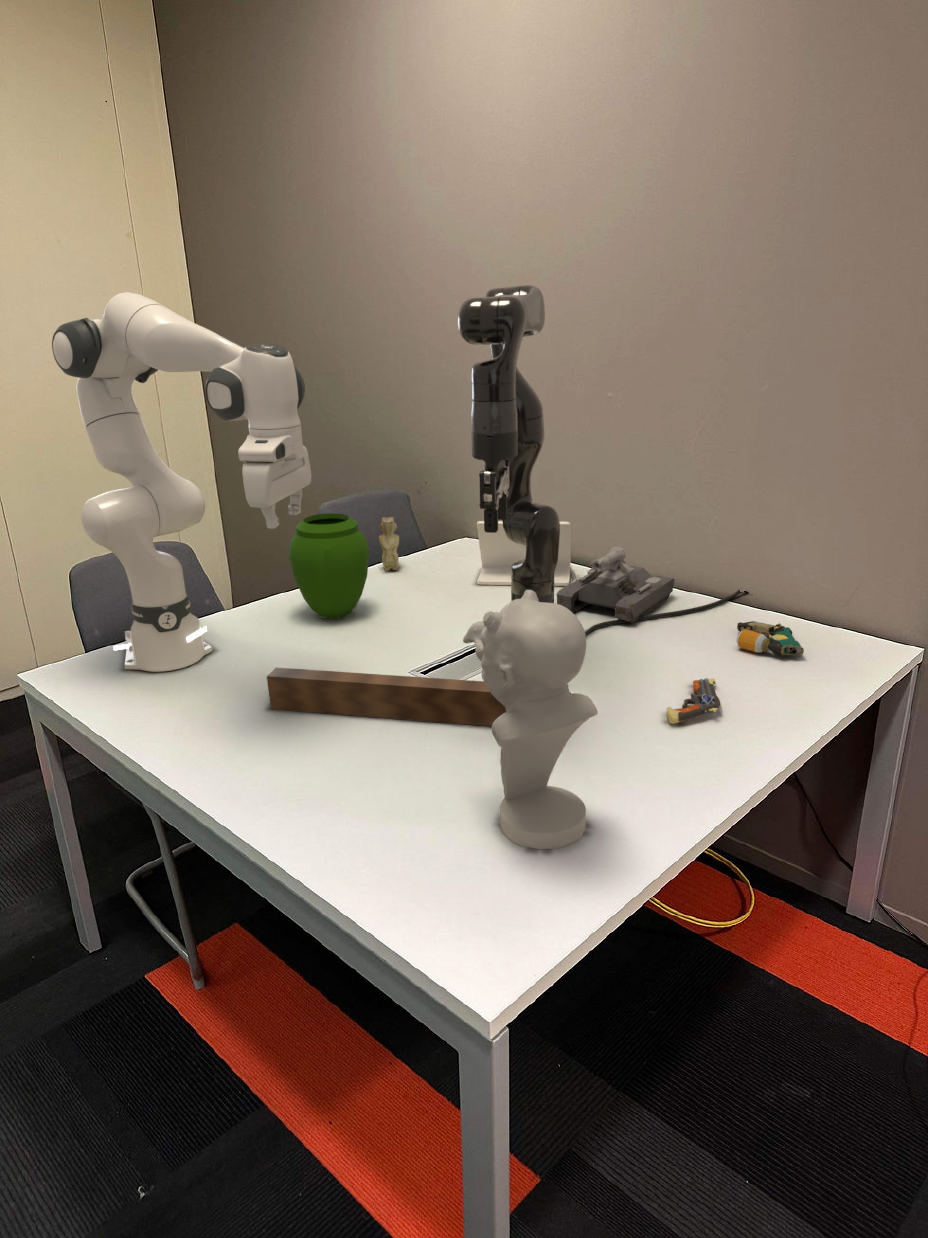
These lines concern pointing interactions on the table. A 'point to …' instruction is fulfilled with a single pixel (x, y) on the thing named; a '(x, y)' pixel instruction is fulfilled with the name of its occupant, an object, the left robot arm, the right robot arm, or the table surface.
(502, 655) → the bust sculpture
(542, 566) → the right robot arm
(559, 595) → the toy
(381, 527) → the sculpture
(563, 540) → the tablet stand
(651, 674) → the table surface
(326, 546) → the vase
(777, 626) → the spray gun
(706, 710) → the toy gun
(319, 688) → the beam
